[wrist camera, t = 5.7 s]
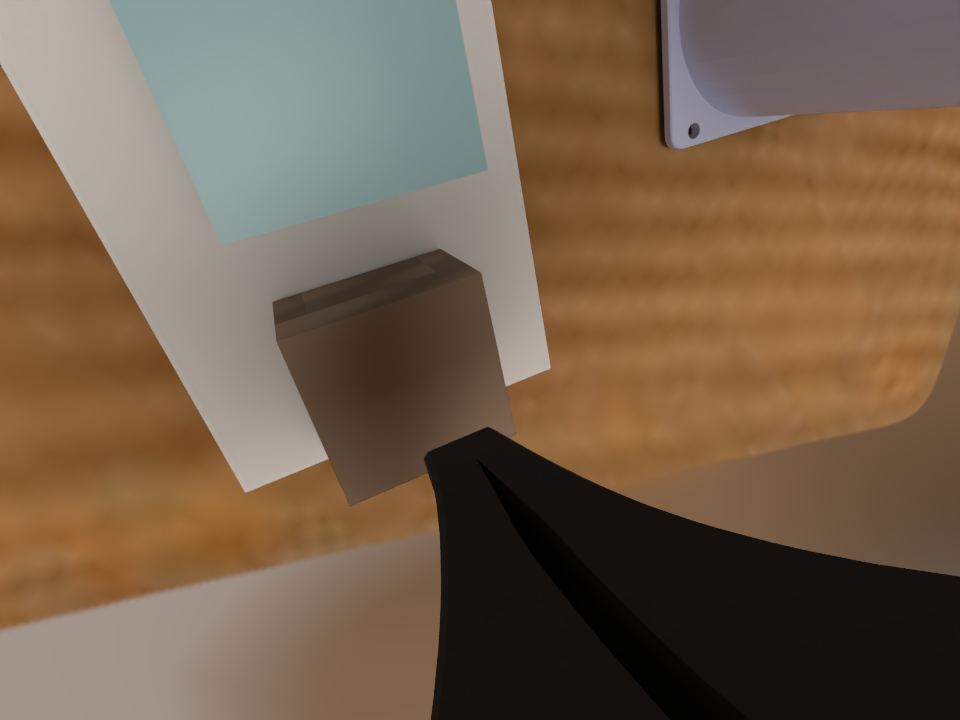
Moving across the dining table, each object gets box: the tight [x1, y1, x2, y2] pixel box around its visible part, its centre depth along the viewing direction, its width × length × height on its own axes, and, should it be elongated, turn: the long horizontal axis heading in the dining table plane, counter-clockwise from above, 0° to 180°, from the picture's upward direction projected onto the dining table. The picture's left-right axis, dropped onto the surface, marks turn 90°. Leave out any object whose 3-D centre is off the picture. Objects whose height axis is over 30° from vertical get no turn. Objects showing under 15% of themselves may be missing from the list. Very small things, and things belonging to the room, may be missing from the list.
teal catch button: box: [109, 0, 488, 245], centre depth 9 cm, size 5×5×3 cm
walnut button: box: [272, 249, 516, 506], centre depth 14 cm, size 5×5×3 cm
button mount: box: [0, 0, 550, 493], centre depth 12 cm, size 11×21×4 cm, turn 10°
